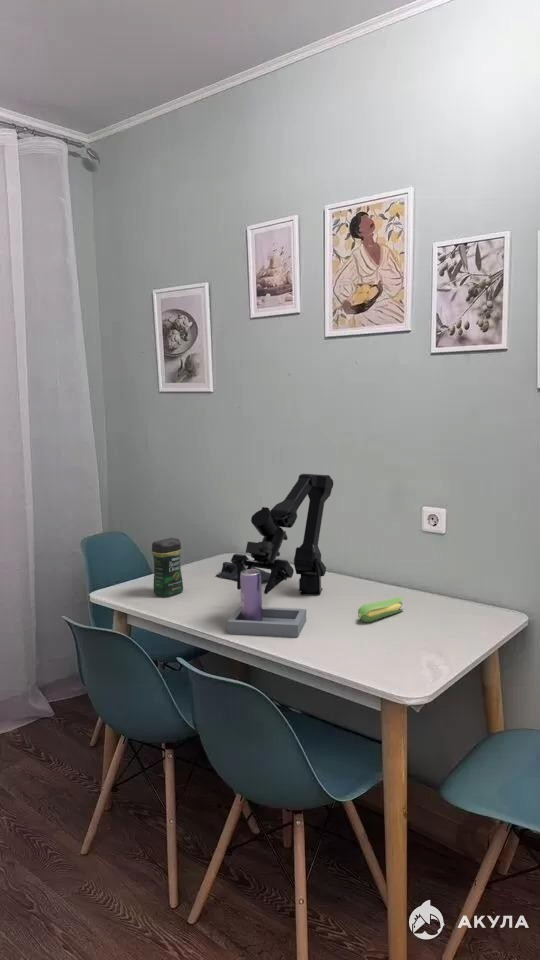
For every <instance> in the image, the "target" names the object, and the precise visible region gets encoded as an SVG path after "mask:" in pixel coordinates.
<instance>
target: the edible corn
mask: <svg viewBox="0 0 540 960" xmlns="http://www.w3.org/2000/svg"><path fill="white" fill-rule="evenodd" d="M404 598H405V596H398V597H394V598H390V599H386V600H381V601H376V602H371V603H366V604H363V605H360V607H359V608H358V611H357V612H358V613H357V614H358V615H357V618H358V619H359V620H360V621H361V622H365V623H372V622H374V620H375V621H378V620H381V619H384V618H387V617H389V615H390V616H392V614H393V615H396V614H399V613H402V612H401V611H402V609H400V608H402V606H403V604H404V603H403V602H402V600H404ZM399 609H400V610H399ZM398 612H399V613H398ZM395 613H396V614H395ZM386 616H387V617H386ZM383 617H384V618H383ZM380 618H381V619H380ZM377 619H378V620H377ZM371 621H372V622H371Z"/></svg>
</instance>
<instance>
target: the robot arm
mask: <svg viewBox="0 0 540 960" xmlns="http://www.w3.org/2000/svg"><path fill="white" fill-rule="evenodd" d="M333 487H334V480H333V478H331V476H330V475H329V474H314V473H301V474H299V476H298V478H297V481H296V483H295V484H294V485H293V486H292V487H291V490H290V491H289V493H288V494H287V496H286V497H285V498H284V499H283V501H280V502H278V503H277V504H275V505H274V506H273V507H272V509H270V508H269V507H266V506H263V507H261V509H260V510H258V511H256V512H255V513H253V515H252V516H251V520H250V522H251V524H252V525H253V527H254V529H256V530H257V532H258V534H260V536H262V539H261V541H258V542H255V541H247V543H246V546H245V547H246V549H245V553H246V554H251V555H250V558H252V559H249V557H248V556H247V555H246V554H241V553H235V554H233V555H232V557H231V559H230V563H233V564H234V565H235V567H236V568H237V572H238V578H237V580H236V582H237V584H236V588H237V590H240V591H241V586H240V575H241V571H243V570H247V569H251V567H255V568H258V569H262V570H269V571H270V573H271V575H270V577H269V580H268V581H266V585H265V588H264V591H263V593H264V594H265V595H267V594H269V593H270V592H271V591H272V590H274V588H276V587H277V586H278V585H279V584H280V583H282V582H283V581H286V580H288V579H292V578H293V575H294V574H296V575H300V577H299V579H298V586H299V589H298V590H299V595H302V596H303V595H305V596H306V595H307V596H320V595H321V593H322V592H323V587H322V577H325V575H326V571H327V567H326V566H325V564H324V563H323V561H322V552H321V550H320V548H319V541H320V534H321V533H320V532H321V526H322V520H323V514H324V507H325V502H326V501H327V500H328V499H329V497H330V496H331V495H332V491H333ZM306 497H308V498H309V500H308V501H309V502H308V508H307V509H308V510H307V515H306V521H305V527H304V532H303V533H304V534H303V539H302V540H303V541H302V543H301V545H300V546H298V547H297V546H296V547H295V553H294V558H293V565H294V568H293V566H292V565H291V564H290V562H289V561H288V560H285V559H279V558H278V559H277V557H280V556H281V552H280V548H281V546H282V543H283V541H288V534H287V531H286V530H284V529H283V528H288V529H290V528H292V527H293V526H294V524H295V523H296V520H297V519H298V513H297V512H298V510H299V508H300V507H301V505H302V503H303V501H304V500H305V499H306ZM294 570H295V573H294Z"/></svg>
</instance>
